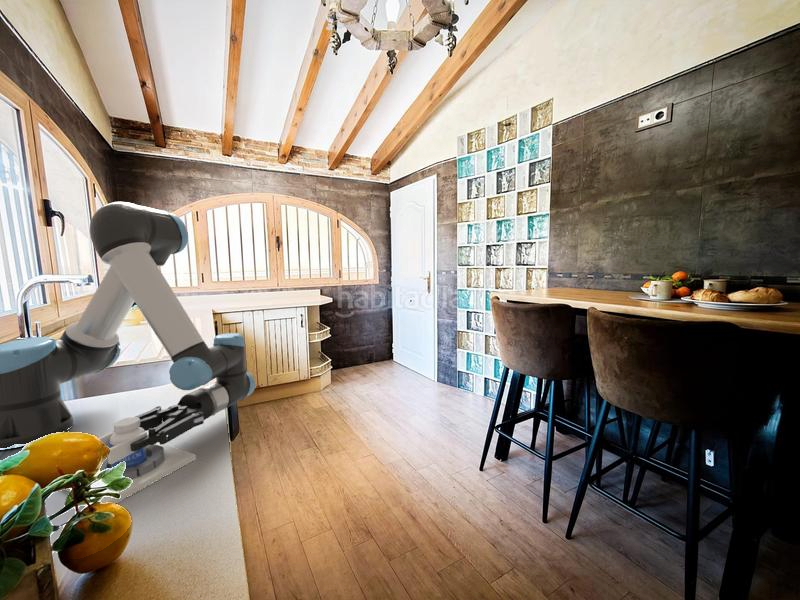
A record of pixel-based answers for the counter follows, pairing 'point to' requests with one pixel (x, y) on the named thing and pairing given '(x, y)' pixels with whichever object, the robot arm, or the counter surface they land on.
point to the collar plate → (158, 473)
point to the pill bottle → (124, 432)
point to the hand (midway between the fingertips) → (97, 454)
